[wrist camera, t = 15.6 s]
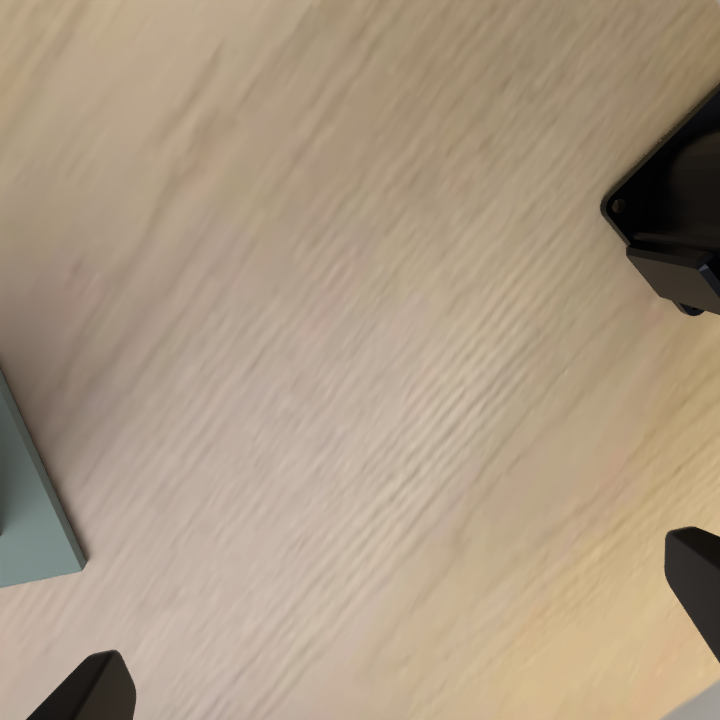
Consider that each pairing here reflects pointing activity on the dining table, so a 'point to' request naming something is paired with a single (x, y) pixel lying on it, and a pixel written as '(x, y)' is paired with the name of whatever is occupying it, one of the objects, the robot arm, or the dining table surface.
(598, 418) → the dining table surface
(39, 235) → the dining table surface
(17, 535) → the rubber pad
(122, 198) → the dining table surface
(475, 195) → the dining table surface
